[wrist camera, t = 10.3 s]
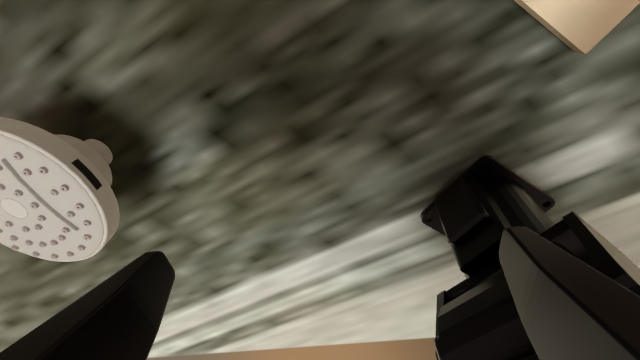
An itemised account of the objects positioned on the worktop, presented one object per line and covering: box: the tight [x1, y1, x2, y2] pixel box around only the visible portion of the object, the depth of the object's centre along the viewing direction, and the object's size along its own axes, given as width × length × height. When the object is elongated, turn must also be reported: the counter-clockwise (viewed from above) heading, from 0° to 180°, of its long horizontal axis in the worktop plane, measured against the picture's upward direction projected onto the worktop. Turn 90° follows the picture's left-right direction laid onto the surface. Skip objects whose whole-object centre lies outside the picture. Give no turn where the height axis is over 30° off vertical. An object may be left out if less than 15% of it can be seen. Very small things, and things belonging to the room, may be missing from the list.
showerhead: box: [0, 117, 120, 262], centre depth 20 cm, size 9×7×10 cm
